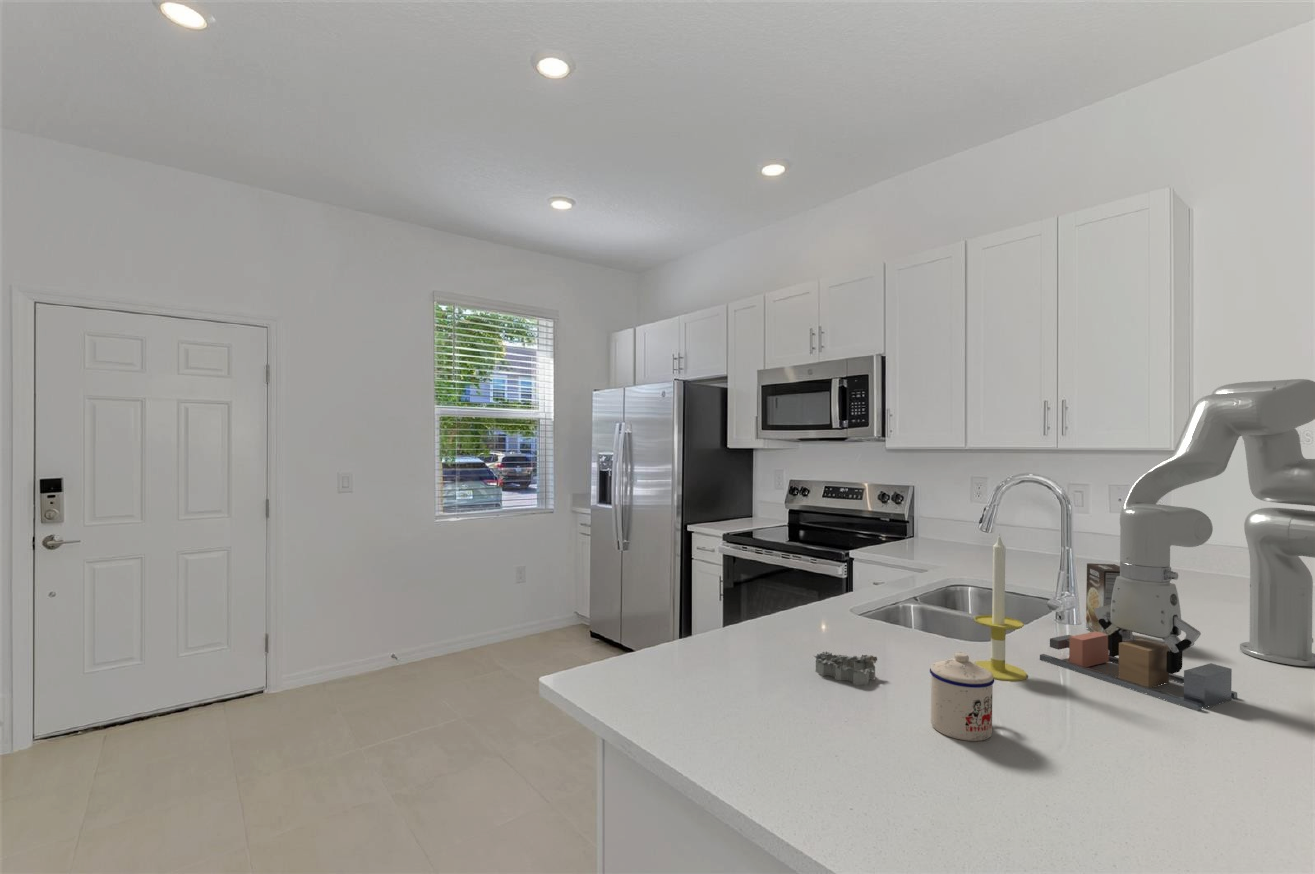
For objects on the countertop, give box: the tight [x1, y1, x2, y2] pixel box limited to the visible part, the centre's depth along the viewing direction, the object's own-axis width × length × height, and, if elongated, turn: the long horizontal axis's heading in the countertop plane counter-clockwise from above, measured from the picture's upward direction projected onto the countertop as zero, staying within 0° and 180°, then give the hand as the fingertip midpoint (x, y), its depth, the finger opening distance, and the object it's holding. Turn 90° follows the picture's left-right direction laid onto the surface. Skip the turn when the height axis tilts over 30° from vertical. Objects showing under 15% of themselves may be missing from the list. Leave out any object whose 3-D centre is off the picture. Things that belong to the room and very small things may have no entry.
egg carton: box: [813, 651, 878, 686], centre depth 121 cm, size 11×8×4 cm
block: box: [1118, 638, 1170, 688], centre depth 120 cm, size 7×5×7 cm
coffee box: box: [1085, 563, 1133, 642], centre depth 148 cm, size 9×6×16 cm
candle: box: [973, 533, 1028, 682], centre depth 124 cm, size 10×10×27 cm
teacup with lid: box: [929, 652, 995, 742], centre depth 99 cm, size 12×9×12 cm
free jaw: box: [1049, 631, 1110, 668], centre depth 131 cm, size 9×7×6 cm
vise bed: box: [1039, 653, 1238, 712], centre depth 122 cm, size 13×27×6 cm, turn 26°
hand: (1143, 663), depth 120 cm, fingers open, 9 cm apart
